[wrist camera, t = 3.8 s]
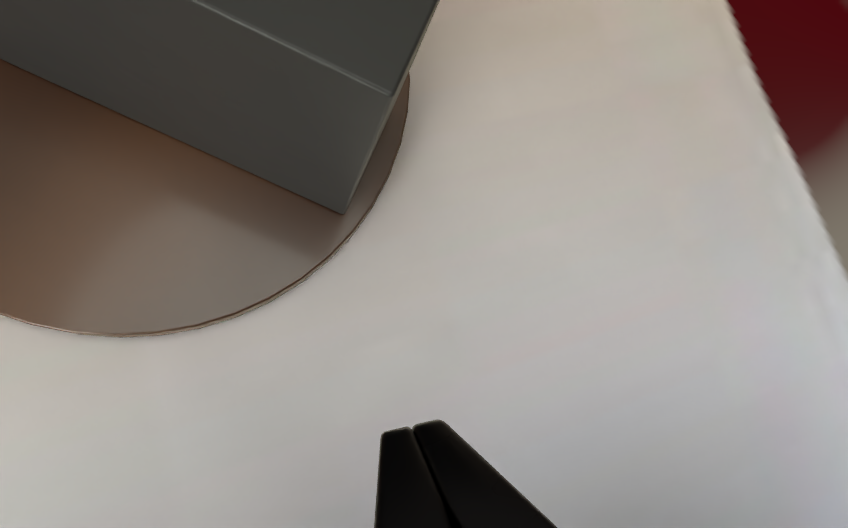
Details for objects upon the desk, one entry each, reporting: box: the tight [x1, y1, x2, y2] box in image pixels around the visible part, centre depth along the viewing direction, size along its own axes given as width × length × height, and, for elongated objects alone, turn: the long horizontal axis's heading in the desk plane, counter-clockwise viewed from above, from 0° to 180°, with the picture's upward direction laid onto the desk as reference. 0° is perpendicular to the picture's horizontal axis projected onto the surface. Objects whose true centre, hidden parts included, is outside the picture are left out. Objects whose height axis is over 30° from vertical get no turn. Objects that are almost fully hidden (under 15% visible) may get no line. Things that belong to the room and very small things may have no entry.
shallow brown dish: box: [0, 59, 410, 337], centre depth 16 cm, size 13×13×1 cm
